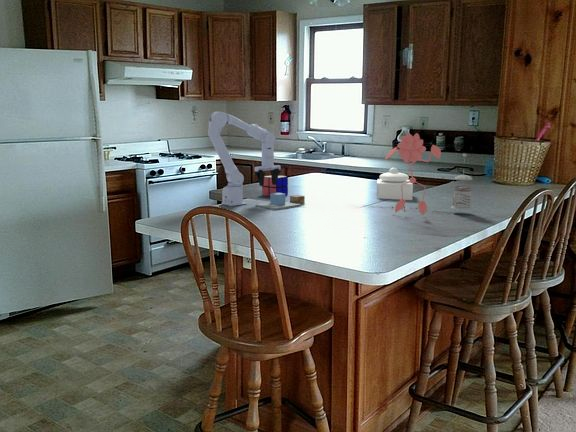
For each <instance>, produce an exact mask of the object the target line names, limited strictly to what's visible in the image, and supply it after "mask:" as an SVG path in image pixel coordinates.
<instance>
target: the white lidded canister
mask: <svg viewBox="0 0 576 432" xmlns="http://www.w3.org/2000/svg"><path fill="white" fill-rule="evenodd" d="M408 181H410V177H409V175H408V174H406V173H403V172H399V170H398V168H396V167H391V168H389V170H388V172H384V173H381V174H380V175H379V178H377V180H376V198H377V199H384V200H385V199H387V200H399V201H400V200H401V199H402V189H403V199H405V201H413V192H414V183H413V184H412V183H410V182H408ZM406 182H408V183H406ZM404 183H406V184H404ZM402 184H404V185H402Z"/></svg>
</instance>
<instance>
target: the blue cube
mask: <svg viewBox="0 0 576 432" xmlns="http://www.w3.org/2000/svg"><path fill="white" fill-rule="evenodd" d="M269 197H270V199H269V201H270V204H272V205H277V206H278V205H284V204H285V202H286V195H285V194H284V193H272V194H270V196H269Z"/></svg>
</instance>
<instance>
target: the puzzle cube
mask: <svg viewBox="0 0 576 432" xmlns="http://www.w3.org/2000/svg"><path fill="white" fill-rule="evenodd" d="M288 179H289V177H288V176H286V175H279V176H278V178H277V182H276V185H272V176H271V175H264V186H261V195H262V196H266V197H270V194H272V193H284V194H285V196H288V195H289V180H288Z"/></svg>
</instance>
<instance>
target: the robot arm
mask: <svg viewBox="0 0 576 432" xmlns="http://www.w3.org/2000/svg"><path fill="white" fill-rule="evenodd" d="M226 125H233V126H235V127H237V128H239V129H242V130H244V131H245V132H246V133H247V134H246V135H248V136H249V137H252V138H254V139H256V140H258V141H260V142H261V166H255V167H254V174H255V176H256V177H257V180H258V183H259V186H260V187H262V186H264V176H266V175H265V174H266V172H267V171H270V174H271V175H270V176H272V185H276V182H277V178H278V176H280V173H282V172H281V170H282V168H281V167H282V166H281V165H279V164H277V165H275V164H274V161H275V160H274V157H275V156H274V153H275V150H274V149H275V147H274V144H275V142H276V137H275V136H276V135H275V134H274V133H273V132H271V131H268V129H267V128H262V127H261V126H259V124H258V123H251V124H248V123H247V122H245V121H243V120H242V119H239V118H238V117H235V116H234V115H232V114H229V113H225V112H224V111H214V112H212V113H211V114H210V116H209V118H208V128H207V135H208V138H209V140H210V141H211V143H212V145H213V147H214V150H215V151H216V153H217V155H218V157H219V160H220V162H221V164H222V165H223V168H224V173H225V175H226V176H225V177H226V180H227V182H228V183H227V185H226V186H224V187H223V188H222V191H221V196H222V197H221V199H222V202H221V205H226V206H229V207H232V206H235V207H236V206H240V205H247V204H248V202H244V191H243V190H244V188H243V187H244V185H243V183H244V181H245V176H244V175H243V174H242V173H241V172H240V171H239V169H238V166H236V165H235V163H234V161H233V158H232V157H231V154H230V152H229V150H228V148H227V146H226V144H225V142H224V140H223V138H222V136H221V132H222V129H223V128H224V127H225V126H226Z"/></svg>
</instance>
